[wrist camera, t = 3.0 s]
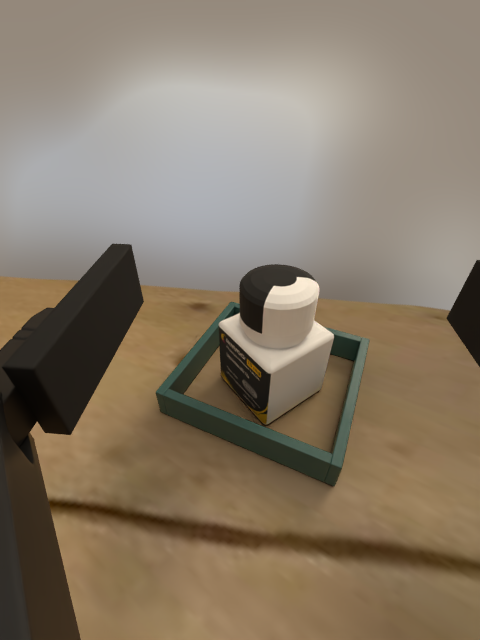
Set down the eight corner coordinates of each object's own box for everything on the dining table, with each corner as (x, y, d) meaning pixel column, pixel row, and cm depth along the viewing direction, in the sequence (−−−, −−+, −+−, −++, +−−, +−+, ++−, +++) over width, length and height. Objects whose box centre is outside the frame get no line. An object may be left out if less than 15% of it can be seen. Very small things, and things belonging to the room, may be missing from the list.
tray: (363, 358, 34) (369, 339, 32) (334, 487, 24) (342, 468, 22) (231, 319, 39) (230, 301, 37) (160, 412, 29) (155, 392, 27)
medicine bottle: (219, 376, 32) (214, 271, 25) (274, 347, 35) (283, 247, 28) (264, 427, 28) (274, 318, 20) (322, 389, 31) (349, 283, 23)
